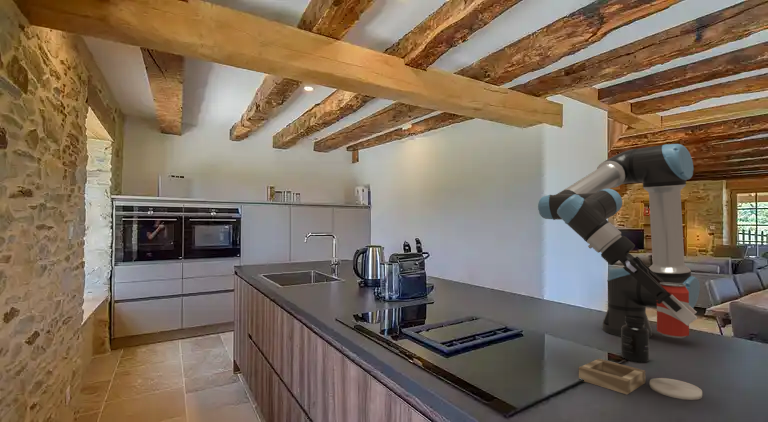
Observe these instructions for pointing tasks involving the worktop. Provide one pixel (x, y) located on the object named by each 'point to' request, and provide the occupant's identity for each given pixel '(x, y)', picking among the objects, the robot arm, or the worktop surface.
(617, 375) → the oak holder
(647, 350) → the supplement bottle
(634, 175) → the robot arm
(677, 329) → the beverage can
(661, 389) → the coaster
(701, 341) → the worktop surface
